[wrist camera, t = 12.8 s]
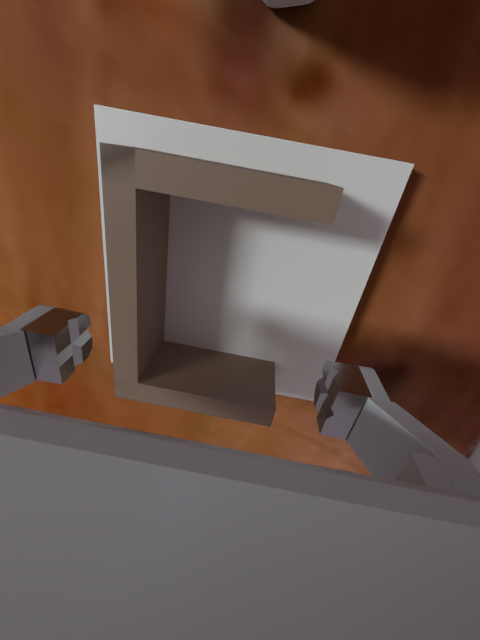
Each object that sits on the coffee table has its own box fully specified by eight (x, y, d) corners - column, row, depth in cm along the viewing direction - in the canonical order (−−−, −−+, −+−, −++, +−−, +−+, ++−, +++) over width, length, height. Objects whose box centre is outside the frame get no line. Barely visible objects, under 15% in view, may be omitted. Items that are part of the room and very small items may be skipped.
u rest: (105, 108, 13) (23, 79, 9) (404, 164, 13) (471, 162, 9) (118, 353, 20) (74, 406, 16) (316, 391, 20) (329, 455, 15)
